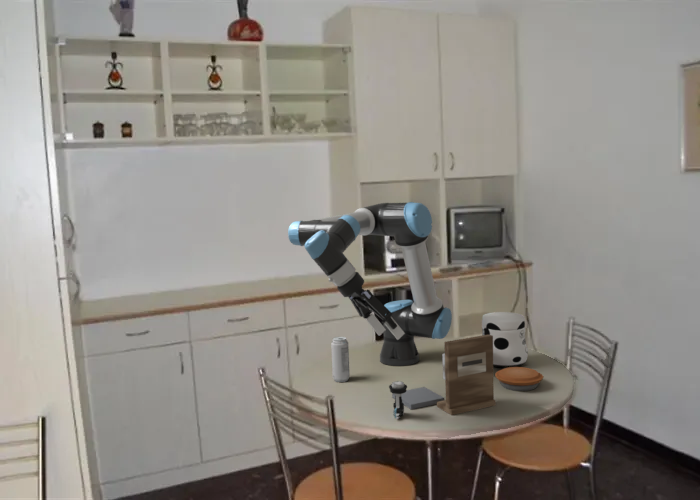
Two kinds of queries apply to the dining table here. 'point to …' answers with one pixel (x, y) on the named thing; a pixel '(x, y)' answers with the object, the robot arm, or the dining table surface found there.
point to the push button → (398, 397)
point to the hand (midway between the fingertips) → (391, 334)
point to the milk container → (506, 338)
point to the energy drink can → (340, 359)
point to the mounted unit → (468, 374)
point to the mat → (419, 398)
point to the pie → (519, 378)
